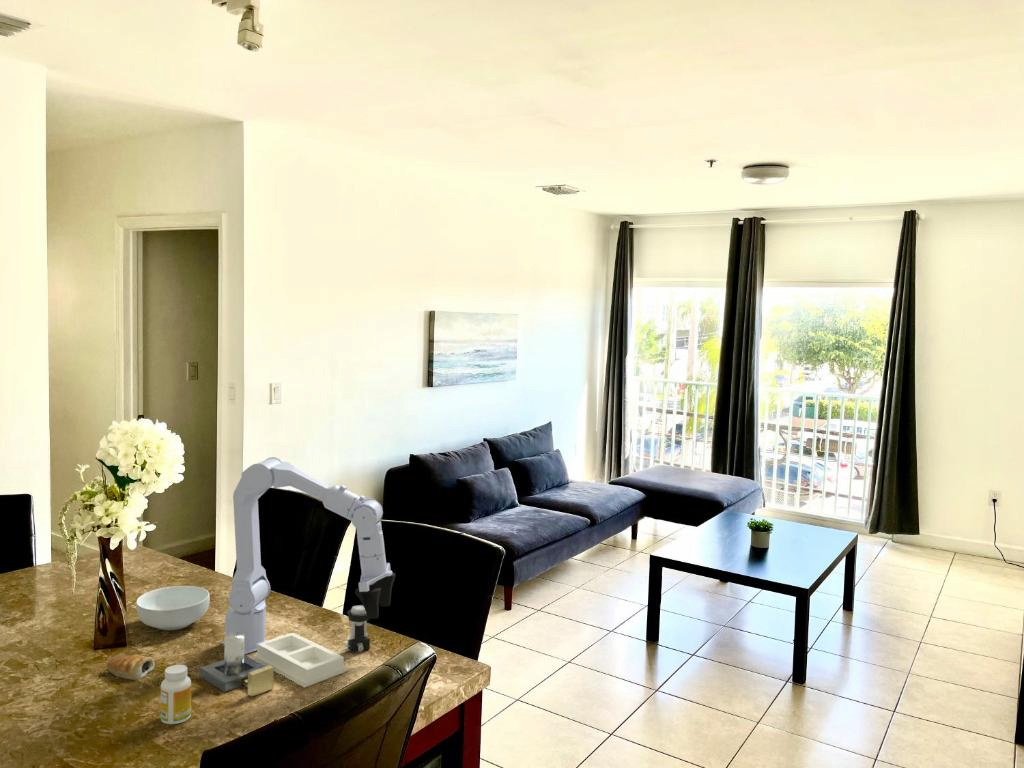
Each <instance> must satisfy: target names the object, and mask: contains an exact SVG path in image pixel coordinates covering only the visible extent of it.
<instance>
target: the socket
mask: <svg viewBox="0 0 1024 768" xmlns="http://www.w3.org/2000/svg"><path fill="white" fill-rule="evenodd" d="M263 667H266V666H264V665H262V664H260V663H258V662H256V661H255V660H254V658H251V657H249V656H247V655H246V654H244V672H241V673H238V674H235V675H232V676H227V675H225V674H224V659H223V660H219V661H216V662H213V663H210V664H206V665H203V666H201V667H199V677H200V678H201V679H203V680H204V681H206V682H208V683H210V684H211V685H212V686H214V687H216V688H218V689H220V690H221V691H223V692H224V693H226V691H227V692H229V690H230V691H232V689H233V690H235V689H238V688H240V686H241V687H242V684H241V681H242V679H243V678H246V677H248V673H249V672H252V671H255V670H257V669H260V668H263ZM237 687H238V688H237ZM234 688H235V689H234Z"/></svg>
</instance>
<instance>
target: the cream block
mask: <svg viewBox="0 0 1024 768" xmlns="http://www.w3.org/2000/svg"><path fill="white" fill-rule="evenodd" d="M274 672H275V671H274V667H272V666H270V665H269V666H266V667H263V668H260V669H257V670H255V671H252V672H249V673H248V677H246V678H243V679H242V681H241V685H243V686H244V687H246V688H247V695H248V696H250V697H254V696H257V695H260V694H263V693H265V692H268V691H271V690H273V689H274V681H275V680H274V676H275V675H274V674H275V673H274Z"/></svg>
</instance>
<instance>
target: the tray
mask: <svg viewBox="0 0 1024 768" xmlns="http://www.w3.org/2000/svg"><path fill="white" fill-rule="evenodd" d="M267 640H268V639H267ZM344 659H345V657H344V656H343V655H341V654H339V653H337V652H335V651H332V650H330V649H328V648H326V647H324V646H322V645H320V644H318V643H316V642H313V641H311V640H309V639H307V638H305V637H303V636H301V635H299V634H297V633H295V632H291V633H290V632H289V633H287V634H284V635H281V636H278V637H274V638H272V639H269V640H268V641H265V642H262V643H259V644H257V651H256V654H255V655H253V660H255V661H257V662H259V663H260V664H262V665H264V666H269V665H270V666H272V667H274V672H275V673H277V674H278V675H280V674H281V675H280V676H282V675H283V676H282V677H284V676H285V677H284V678H285V679H288V680H290V681H291V680H292V681H291V682H293V681H294V682H293V683H295V684H297V685H299V686H301V687H302V688H306V687H309V686H312V685H315V684H317V683H321V682H322V681H326V680H329V679H331V678H333V677H335V676H338V675H341V674H343V673H346V672H347V671H348V668H347V666H345V665H344V662H345V661H344Z"/></svg>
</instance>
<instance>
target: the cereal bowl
mask: <svg viewBox="0 0 1024 768" xmlns="http://www.w3.org/2000/svg"><path fill="white" fill-rule="evenodd" d="M210 597H211V595H210V592H209V591H208V590H207V589H206V588H203V587H199V586H194V585H173V586H167V587H159V588H157V589H153V590H149V591H148V592H145V593H143V594H142V595H140V596H139V597H138V598H137V599H136V601H135V602H136V603H135V607H136V608H135V609H136V613H137V617H138V619H139V620H140V621H141V622H142V623H143V624H144V625H146V626H148V627H151V628H155V629H159V630H162V631H175V630H176V631H178V630H182V629H185V628H187V627H189V626H190V625H191V624H192V623H195V622H197V621H199V620H200V619H201V618H202V617H203V616H204V615H205V614H206V613H207V611H208V609H209V606H210V601H211V600H210V599H211V598H210Z"/></svg>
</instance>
